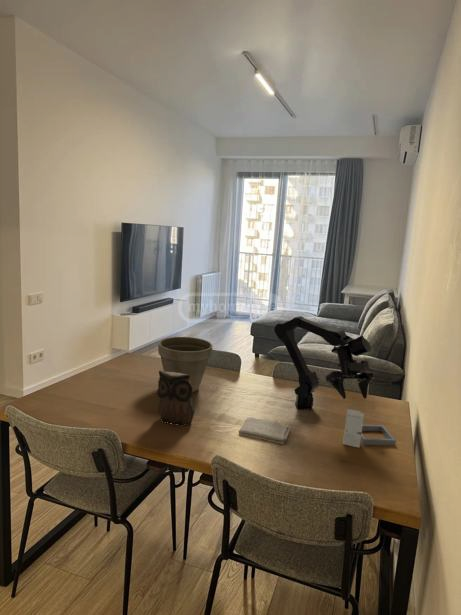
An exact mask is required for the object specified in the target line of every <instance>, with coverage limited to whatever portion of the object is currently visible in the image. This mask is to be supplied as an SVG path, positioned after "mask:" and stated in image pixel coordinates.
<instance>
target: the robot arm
mask: <svg viewBox="0 0 461 615" xmlns="http://www.w3.org/2000/svg"><path fill="white" fill-rule="evenodd" d="M297 328H300V329H302V330H305V331H307V332H309V333H312V334H314V335H315V336H316V335H317V336H319V337H321V338H322V339H323V340H324V341H325V342H326V343H328V344H329V345H331V346H333V348H332V349H331V350H330V352H331V353H333V354H336V355H337V359H338V364H337V368H340V370H336V371H335V370H334V371H333V370H332V371H331V372H329V373H328V374H326V376H325V380H326V381H325V382H326V383H329V385H332V386H333V388H334V389H335V390H336V391H337V392H338V393H339V396H341V397H342V399H343V400H346V398H347V397H346V391H345V387H344V381H345V380H357V383H358V388H359V391H360V393H361V395H362V398H363V399H364V400H365V399H367V396H368V388H369V384H370V382H372V380H374V379H375V375H374V372H373V371H366V370H368V369H369V368H370V367H369V362H368V360H360V362H357V360H356V359H354V357H353V356H355V357H359V356H362V355H366V354H367V353H370V352H371V351H372V346H371V343H370V342H369V341H368V340H367V339H366V337H364V335H360V336H358V337H356V338H353V337H351V336H350V335H348V334H347V333H346V331H345V330H343V329H339V328H335V327H326V326H324V325H322V324H319V323H317V322H314V321H312V320H309V319H308V318H305V317H303V316H301V315H299V316H298V315H297V316H296V317H293V318H292V319H290V320H288V321H283V322H280V323H277V324H275V326H274V328H273V332H274V334H275V335H276V336H275V337H277V339H278V340H279V341H280V342H282V343H283V344H284V346H285V348H286V350H287V353H288V355H289V357H290V359H291V361H292V364H293V365H294V368H295V370H296V372H297V374H298V384H299V385H298V386H297V387H295V388H294V394H295V395H296V399H295V402H294V404H295V406H296V408H297V410H313V406H314V395H313V393H314V392H315V390H317V389H318V388H319V387H320V386H319V385H320V378H319V377H318V375H317V373H316V371H311V370H310V369H309V368H308V365H307V362H306V360H305V359H304V357H303V355H302V352H301V350H300V348H299V346H298V344H297V341H296V340H295V329H297Z"/></svg>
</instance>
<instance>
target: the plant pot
mask: <svg viewBox="0 0 461 615" xmlns="http://www.w3.org/2000/svg"><path fill="white" fill-rule="evenodd" d="M157 343H158V344H157V348H158V349H157V353H158V356H160V360H161V364H162V370H163V372H176V373H182V374H187V375H190V378H189V379H190V382H191V386H192V390H193V392H192V393H195V392H196V391H198V390H199V388H200V386H201V383H202V380H203V377H204V375H205V372H206V369H207V365H208V362H209V359H210V358H211V356H212V353H213V346H214V345H213V343H211V342H210V341H208V340H206V339H202V338H197V337H191V336H172V337H165V338H163V339H160V340H159V341H158V342H157Z"/></svg>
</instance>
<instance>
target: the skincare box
mask: <svg viewBox="0 0 461 615" xmlns="http://www.w3.org/2000/svg"><path fill="white" fill-rule="evenodd" d="M345 417H346V418H345V423H344V424H345V425H344V433H343V437H342V438H343V439H342V445H345V446H349V447H354V448H360V447H361V434H363V433H362V432H363V431H362V427H363V425H364V420H365V419H364V418H365V412H364V411H359V410H357V409H356V410H355V409H350V408H347V410H346V416H345Z"/></svg>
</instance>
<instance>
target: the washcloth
mask: <svg viewBox="0 0 461 615" xmlns="http://www.w3.org/2000/svg"><path fill="white" fill-rule="evenodd" d="M291 429H292V427H289V425H288V424H283V423H279V422H278V421H276V420H275V421H274V420H267V419H263V418H256V417H247V418H246V419H245V421H244V423H243V425H242V426H241V427H240V429H239V430H238V434H239V435H240V436H245V437H250V438H254V439H260V440H265V441H269V442H272V443H273V442H274V443H278V444H281V445H284V444H285V443H286V441H287V439H288V437H289V435H290V433H291Z"/></svg>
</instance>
